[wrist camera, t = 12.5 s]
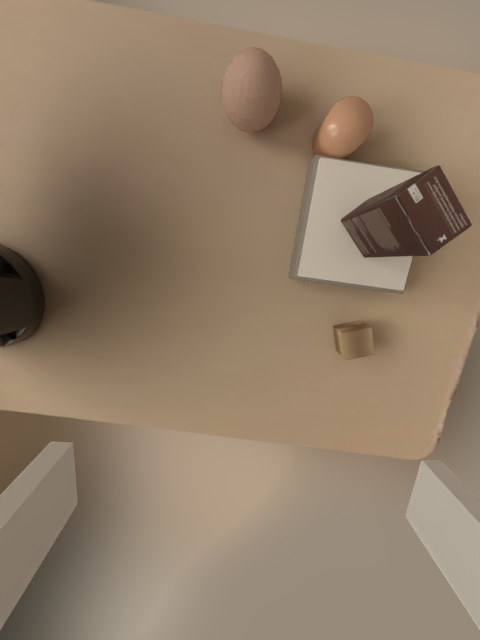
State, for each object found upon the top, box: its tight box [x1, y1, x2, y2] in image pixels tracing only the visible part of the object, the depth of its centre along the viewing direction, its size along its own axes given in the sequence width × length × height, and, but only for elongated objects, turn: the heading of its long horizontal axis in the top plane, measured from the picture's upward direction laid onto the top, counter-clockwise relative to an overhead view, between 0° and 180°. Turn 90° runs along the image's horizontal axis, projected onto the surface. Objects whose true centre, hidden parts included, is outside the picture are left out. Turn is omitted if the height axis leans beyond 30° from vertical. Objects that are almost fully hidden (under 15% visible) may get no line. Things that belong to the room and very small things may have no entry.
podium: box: [289, 154, 425, 294], centre depth 36 cm, size 15×15×4 cm
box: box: [341, 165, 471, 258], centre depth 28 cm, size 6×4×12 cm
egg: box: [222, 47, 282, 132], centre depth 30 cm, size 7×7×9 cm
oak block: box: [333, 321, 374, 360], centre depth 39 cm, size 4×4×4 cm
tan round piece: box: [312, 96, 373, 159], centre depth 32 cm, size 5×5×6 cm
